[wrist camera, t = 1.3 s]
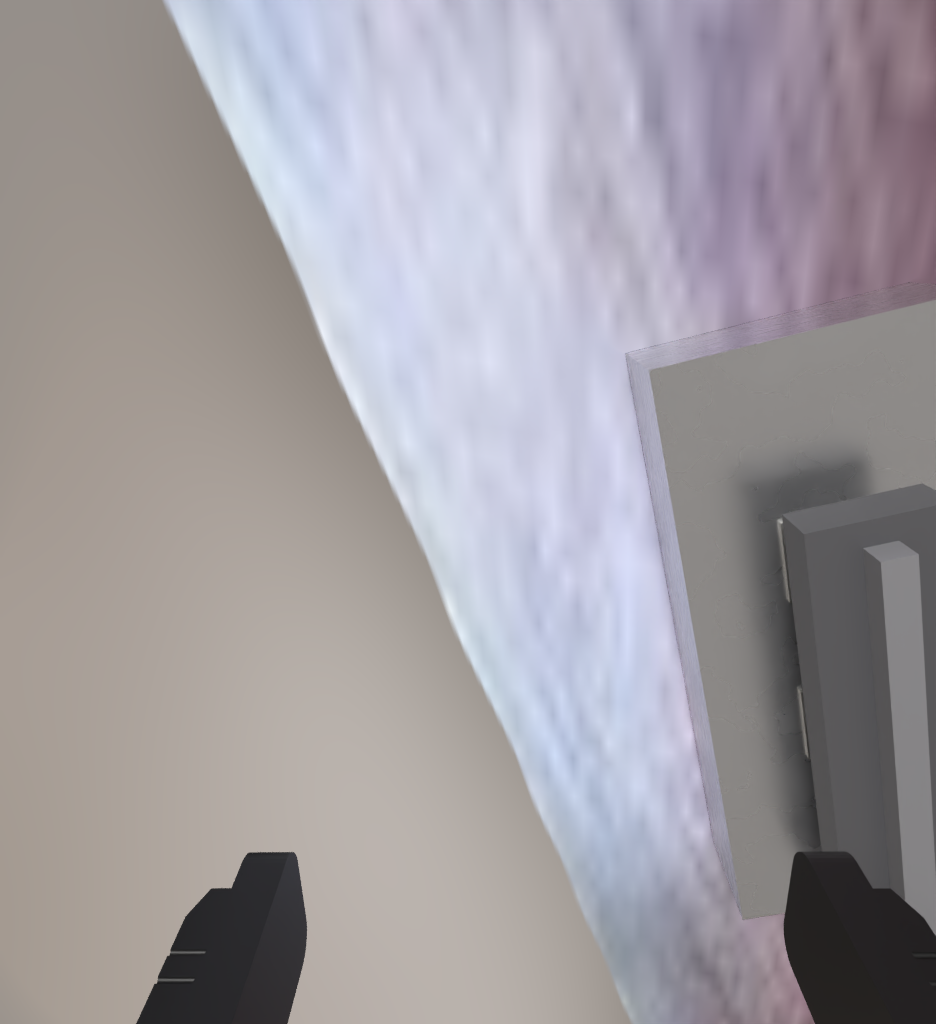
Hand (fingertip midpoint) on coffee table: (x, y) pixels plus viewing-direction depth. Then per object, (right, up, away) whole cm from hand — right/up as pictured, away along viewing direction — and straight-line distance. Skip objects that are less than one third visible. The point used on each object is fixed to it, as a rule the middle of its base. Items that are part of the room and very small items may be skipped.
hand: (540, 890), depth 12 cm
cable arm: (+16, -4, +18) cm, 24 cm away
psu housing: (+15, +2, +24) cm, 28 cm away
